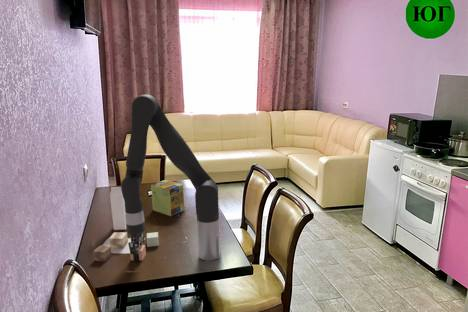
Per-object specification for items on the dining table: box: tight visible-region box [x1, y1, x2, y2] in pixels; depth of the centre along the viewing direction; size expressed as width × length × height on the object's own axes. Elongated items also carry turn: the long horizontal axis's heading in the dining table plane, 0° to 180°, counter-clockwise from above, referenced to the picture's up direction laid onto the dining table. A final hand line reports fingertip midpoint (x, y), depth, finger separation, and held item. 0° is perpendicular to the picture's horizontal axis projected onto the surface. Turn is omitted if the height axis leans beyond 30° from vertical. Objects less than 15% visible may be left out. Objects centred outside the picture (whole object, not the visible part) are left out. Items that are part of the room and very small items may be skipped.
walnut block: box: [92, 245, 113, 263], centre depth 156 cm, size 5×5×5 cm
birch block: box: [108, 231, 128, 249], centre depth 166 cm, size 6×6×5 cm
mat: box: [101, 237, 146, 254], centre depth 167 cm, size 18×14×1 cm
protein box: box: [150, 179, 185, 217], centre depth 205 cm, size 10×15×16 cm
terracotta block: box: [130, 244, 147, 261], centre depth 156 cm, size 5×5×5 cm
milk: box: [109, 186, 127, 231], centre depth 183 cm, size 6×6×22 cm
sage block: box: [146, 231, 160, 248], centre depth 167 cm, size 5×5×5 cm
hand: (138, 257), depth 156 cm, fingers closed on terracotta block, 5 cm apart
